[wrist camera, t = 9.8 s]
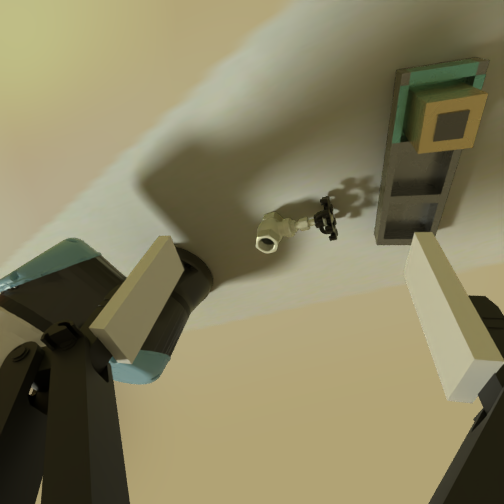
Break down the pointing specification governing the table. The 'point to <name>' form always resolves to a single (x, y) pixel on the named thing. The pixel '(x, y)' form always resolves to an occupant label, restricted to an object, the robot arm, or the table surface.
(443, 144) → the hollow square tube
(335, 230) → the valve
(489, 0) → the table surface
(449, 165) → the divided tray
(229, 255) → the table surface
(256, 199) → the table surface
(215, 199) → the table surface
